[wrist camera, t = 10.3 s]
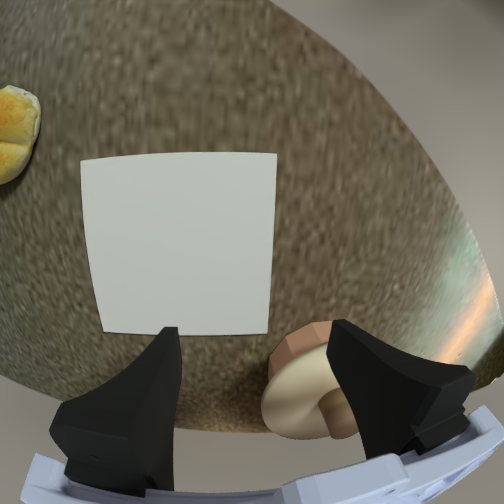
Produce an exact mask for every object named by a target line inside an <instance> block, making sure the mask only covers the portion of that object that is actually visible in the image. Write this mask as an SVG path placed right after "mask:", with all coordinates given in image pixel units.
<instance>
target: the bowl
mask: <svg viewBox="0 0 504 504" xmlns="http://www.w3.org/2000/svg"><path fill="white" fill-rule="evenodd" d="M331 326H332V321H325V322H314V323H309V324H308V325H306V326H304V327H302V328H300V329H298V330H297V331H295V332H293V333H291V334H289V335H287V336H285V337H284V339H283V340H282V341H281V342H280V344H279V345H278V346H277V348H276V349H275V350H274V351H273V353H272V354H271V355H270V356H269V366H268V379H269V382H270V380H271V379H272V378H273V377H274V376H275V374H276V373H277V372H278V371H279V370H280V369H281V368H283V367H284V366H285V365H286V364H287V363H289V362H290V361H291V360H293V359H294V358H296V357H297V356H299V355H300V354H302V353H304V352H305V351H307V350H309V349H311V348H313V347H315V346H318V345H320V344H322V343H325V342H328V341H329V336H330V331H331Z"/></svg>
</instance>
